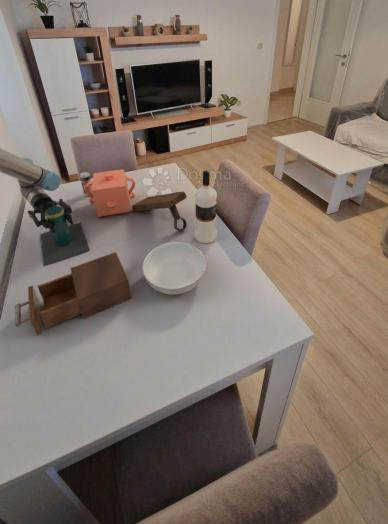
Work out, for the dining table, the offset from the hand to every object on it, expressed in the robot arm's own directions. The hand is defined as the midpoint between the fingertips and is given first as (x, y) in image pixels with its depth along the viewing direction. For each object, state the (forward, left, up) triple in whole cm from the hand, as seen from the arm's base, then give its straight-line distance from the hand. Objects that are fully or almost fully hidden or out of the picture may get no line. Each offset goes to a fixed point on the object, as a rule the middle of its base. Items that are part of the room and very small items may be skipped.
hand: (62, 225), depth 102 cm
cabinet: (+27, +7, -11) cm, 30 cm away
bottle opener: (-1, +39, -12) cm, 40 cm away
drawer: (+27, -8, -10) cm, 30 cm away
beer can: (-38, +15, -12) cm, 42 cm away
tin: (-5, -1, -11) cm, 12 cm away
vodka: (+20, +50, -12) cm, 55 cm away
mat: (-5, -1, -11) cm, 12 cm away
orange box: (-17, +22, -12) cm, 30 cm away
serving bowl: (+33, +30, -12) cm, 46 cm away
